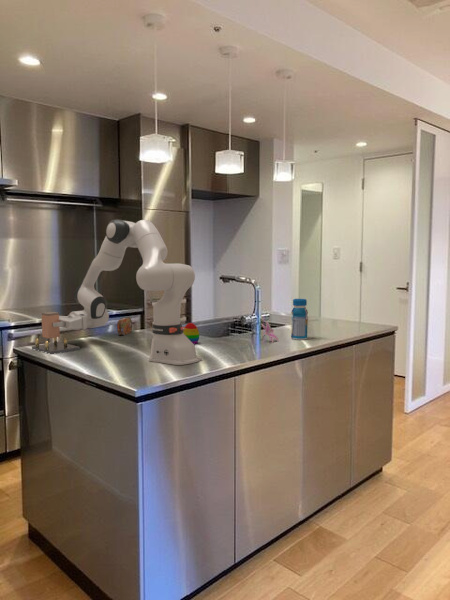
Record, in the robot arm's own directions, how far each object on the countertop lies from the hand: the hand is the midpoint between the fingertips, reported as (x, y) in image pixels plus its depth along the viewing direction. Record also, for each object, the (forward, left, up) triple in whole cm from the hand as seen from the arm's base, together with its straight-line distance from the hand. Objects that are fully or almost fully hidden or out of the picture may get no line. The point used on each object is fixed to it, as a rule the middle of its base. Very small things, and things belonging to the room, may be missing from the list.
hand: (48, 324), depth 217 cm
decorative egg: (-38, -52, -12) cm, 65 cm away
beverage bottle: (-70, -97, -12) cm, 120 cm away
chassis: (-2, -2, -11) cm, 12 cm away
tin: (+9, -48, -12) cm, 50 cm away
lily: (-63, -81, -12) cm, 103 cm away
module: (0, -1, -6) cm, 6 cm away
